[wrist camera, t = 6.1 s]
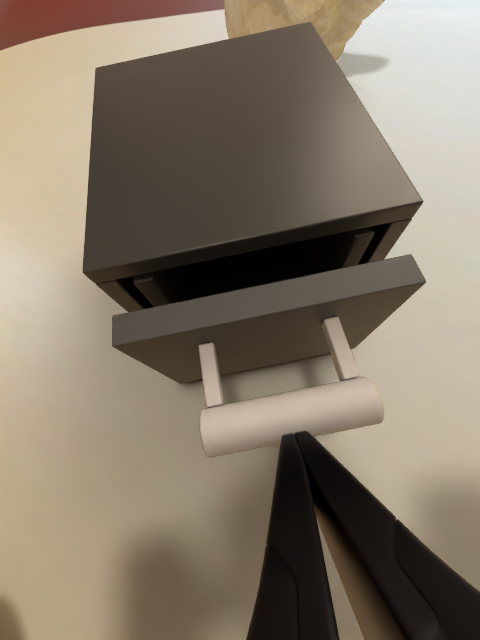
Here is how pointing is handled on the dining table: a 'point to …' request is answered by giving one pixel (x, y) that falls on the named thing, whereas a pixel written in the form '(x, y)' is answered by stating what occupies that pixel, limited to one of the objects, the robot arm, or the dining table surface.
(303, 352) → the dark grey drawer
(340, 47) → the beige rock
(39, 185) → the dining table surface
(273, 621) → the robot arm
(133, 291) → the dark drawer box
